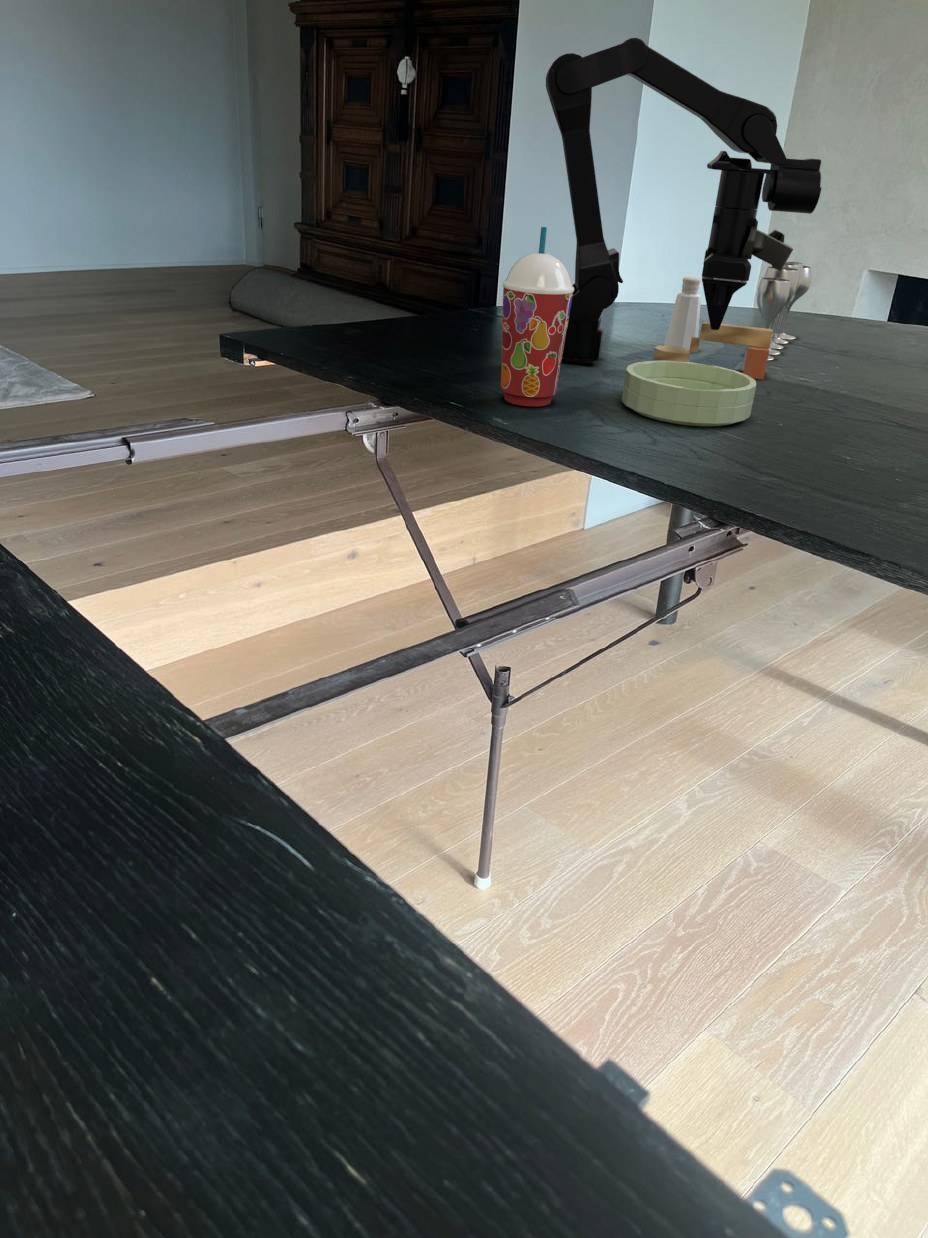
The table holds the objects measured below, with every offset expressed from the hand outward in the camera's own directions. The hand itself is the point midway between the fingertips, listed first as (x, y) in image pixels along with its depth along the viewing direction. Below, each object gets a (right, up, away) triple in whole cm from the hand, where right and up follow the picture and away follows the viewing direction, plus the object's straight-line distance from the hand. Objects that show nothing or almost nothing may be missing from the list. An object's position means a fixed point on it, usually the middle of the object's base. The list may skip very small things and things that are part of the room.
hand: (714, 324), depth 139 cm
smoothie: (-29, -16, -21) cm, 39 cm away
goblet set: (+16, +3, +24) cm, 29 cm away
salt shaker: (-1, +1, +16) cm, 16 cm away
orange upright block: (+6, -7, +2) cm, 9 cm away
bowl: (-9, -17, -20) cm, 28 cm away
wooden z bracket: (0, -6, +3) cm, 7 cm away
